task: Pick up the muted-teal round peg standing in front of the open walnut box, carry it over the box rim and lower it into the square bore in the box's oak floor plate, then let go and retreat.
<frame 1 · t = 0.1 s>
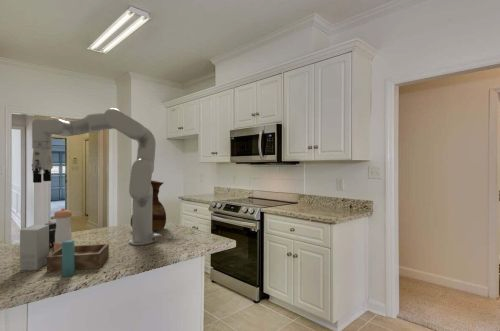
hand: (42, 181, 140), 31 cm above the counter, tool pointing down, fingers open, 9 cm apart
skincare box: (35, 267, 115), on the counter
peg: (68, 274, 106), on the counter
ceramic pitcher: (148, 230, 175), on the counter
battery charger: (52, 247, 141), on the counter
box: (80, 263, 118), on the counter
salt shaker: (63, 250, 137), on the counter
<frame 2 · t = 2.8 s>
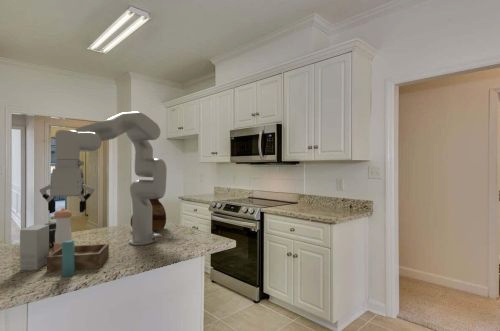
hand: (67, 212, 106), 23 cm above the counter, tool pointing down, fingers open, 9 cm apart
nothing on the counter moved.
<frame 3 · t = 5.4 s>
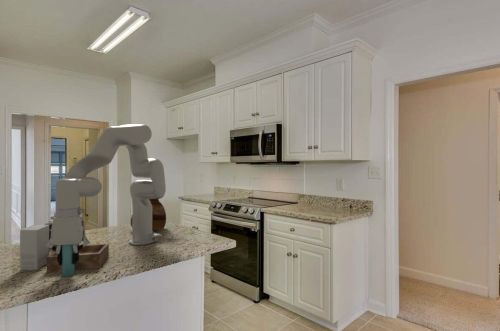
hand: (68, 263, 106), 4 cm above the counter, tool pointing down, fingers closed on peg, 3 cm apart
peg: (68, 274, 106), on the counter, touching gripper
everything else where it was.
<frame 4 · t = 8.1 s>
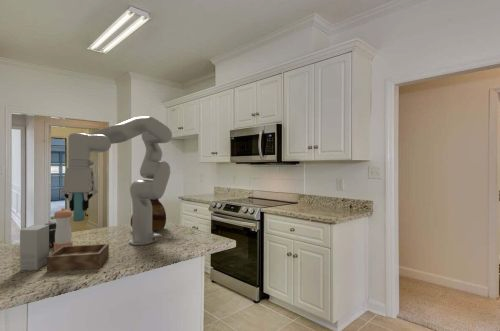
hand: (79, 209, 118), 22 cm above the counter, tool pointing down, fingers closed on peg, 3 cm apart
peg: (79, 220, 118), point 17 cm above the counter, touching gripper
everything else where it was.
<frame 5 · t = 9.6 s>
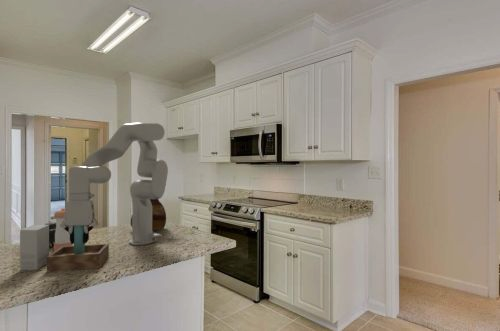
hand: (79, 242, 118), 9 cm above the counter, tool pointing down, fingers closed on peg, 3 cm apart
peg: (79, 253, 118), point 4 cm above the counter, touching gripper
everything else where it was.
when the fingers open (6 cm above the counter, at t = 10.8 s): peg drops 1 cm, resting in box.
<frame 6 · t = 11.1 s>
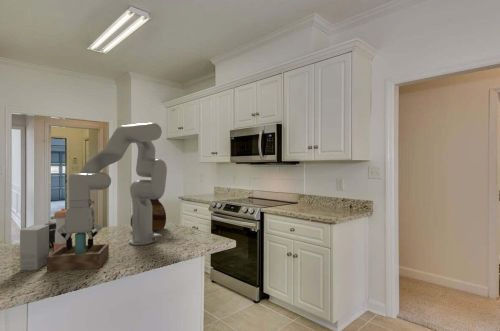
hand: (79, 248, 118), 6 cm above the counter, tool pointing down, fingers open, 6 cm apart
peg: (80, 263, 118), resting in box
everything else where it was.
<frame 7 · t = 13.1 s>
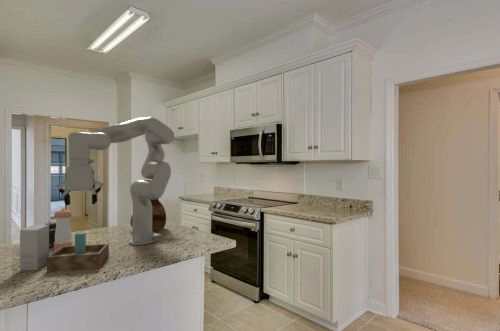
hand: (81, 204, 121), 23 cm above the counter, tool pointing down, fingers open, 9 cm apart
nothing on the counter moved.
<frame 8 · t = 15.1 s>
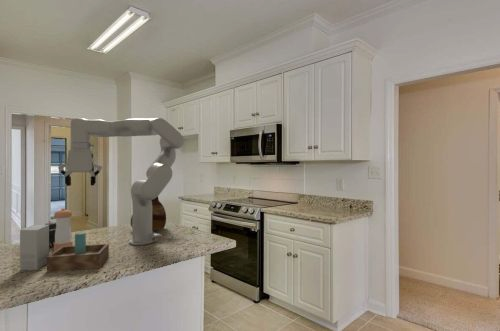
hand: (80, 185, 130), 30 cm above the counter, tool pointing down, fingers open, 9 cm apart
nothing on the counter moved.
at the end: peg 0.2 cm off-centre on the box, point 0.0 cm above the box's base; peg tilted 0°; the gripper is holding nothing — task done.
